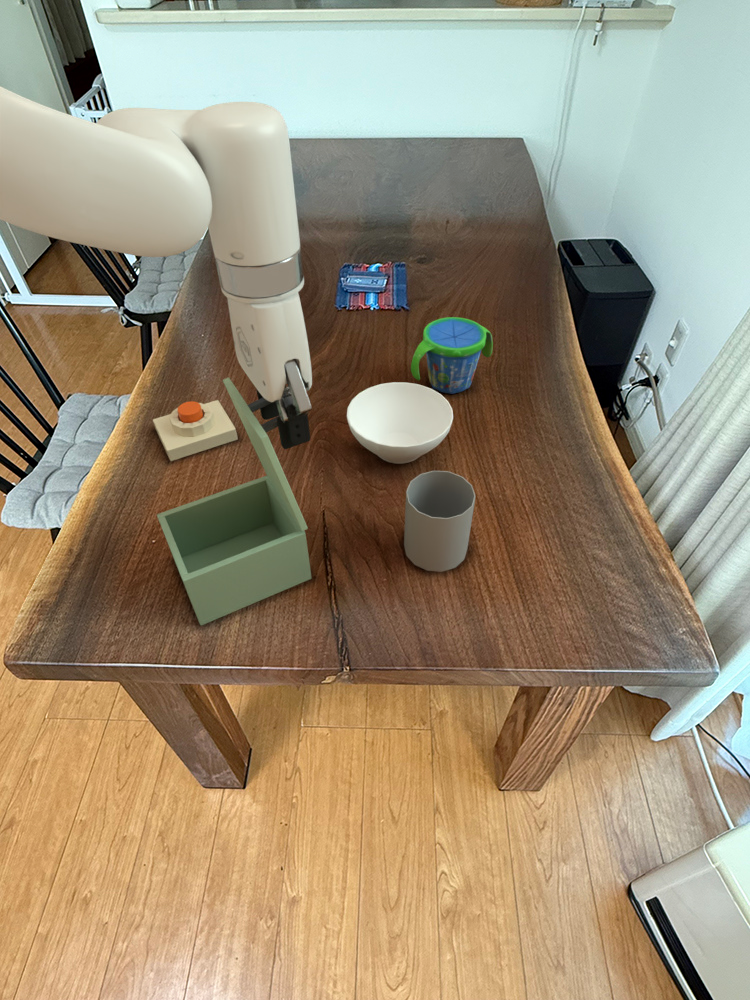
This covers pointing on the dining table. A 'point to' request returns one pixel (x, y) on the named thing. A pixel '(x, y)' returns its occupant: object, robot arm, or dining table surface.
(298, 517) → the lid
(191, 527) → the green hinged box
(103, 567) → the dining table surface
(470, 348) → the snack cup
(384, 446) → the bowl
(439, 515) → the cup
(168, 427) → the panel
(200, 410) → the button
